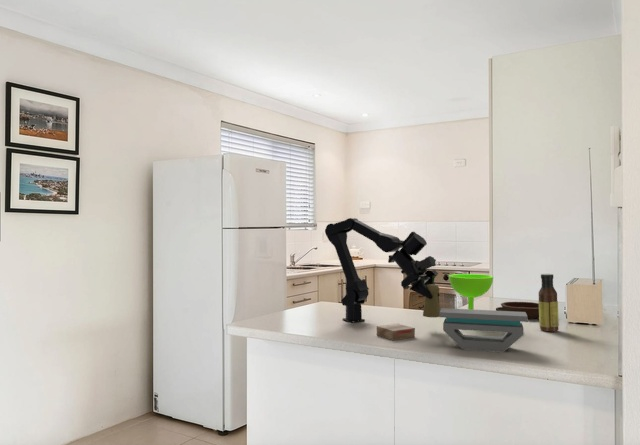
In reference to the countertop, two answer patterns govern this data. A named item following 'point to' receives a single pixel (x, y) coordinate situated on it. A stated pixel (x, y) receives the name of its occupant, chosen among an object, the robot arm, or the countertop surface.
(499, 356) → the countertop surface
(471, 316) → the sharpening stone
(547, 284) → the sauce bottle
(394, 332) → the tan flat block
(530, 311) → the dish
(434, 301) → the olive tall rounded piece
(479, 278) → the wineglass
